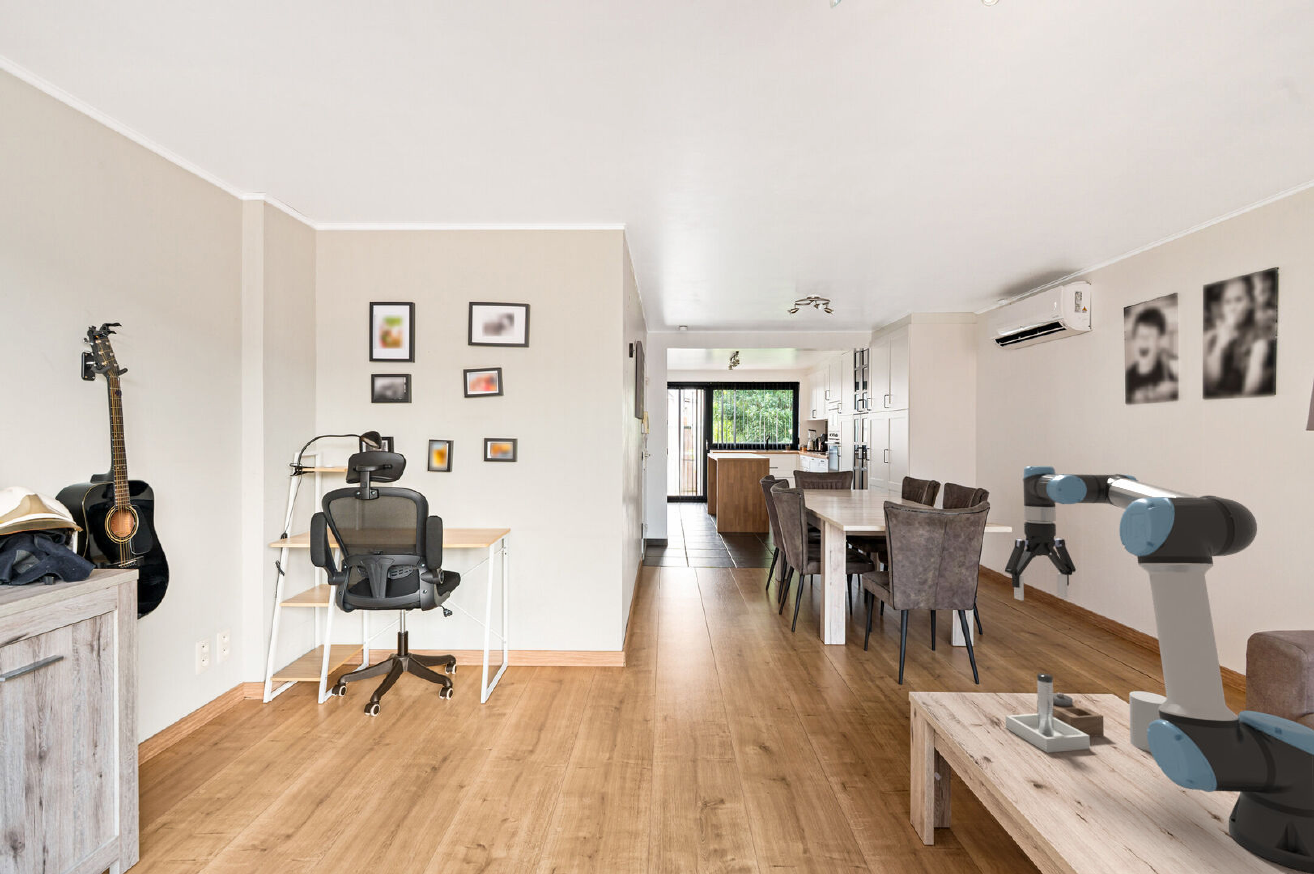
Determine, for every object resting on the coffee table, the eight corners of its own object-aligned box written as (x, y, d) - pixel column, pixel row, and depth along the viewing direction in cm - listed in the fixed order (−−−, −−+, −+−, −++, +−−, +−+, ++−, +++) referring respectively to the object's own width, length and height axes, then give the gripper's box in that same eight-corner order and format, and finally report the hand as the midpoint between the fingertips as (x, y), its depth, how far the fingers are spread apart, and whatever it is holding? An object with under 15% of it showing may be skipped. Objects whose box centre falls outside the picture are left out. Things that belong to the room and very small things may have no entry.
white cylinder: (1178, 749, 155) (1177, 700, 156) (1160, 756, 152) (1159, 705, 152) (1141, 736, 163) (1140, 689, 163) (1123, 742, 159) (1122, 694, 160)
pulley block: (1103, 735, 163) (1103, 705, 163) (1073, 737, 162) (1072, 707, 162) (1066, 716, 175) (1065, 688, 175) (1037, 718, 173) (1037, 690, 174)
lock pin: (1057, 737, 160) (1055, 677, 160) (1045, 738, 159) (1044, 678, 160) (1046, 732, 163) (1045, 672, 164) (1035, 733, 163) (1034, 673, 163)
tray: (1089, 748, 156) (1089, 735, 156) (1046, 752, 154) (1046, 739, 154) (1045, 724, 169) (1045, 712, 169) (1005, 727, 167) (1005, 715, 167)
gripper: (1068, 519, 181) (1069, 593, 180) (990, 520, 177) (991, 596, 176) (1090, 522, 174) (1091, 599, 173) (1009, 523, 169) (1010, 603, 169)
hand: (1040, 598), depth 175 cm, fingers open, 13 cm apart
